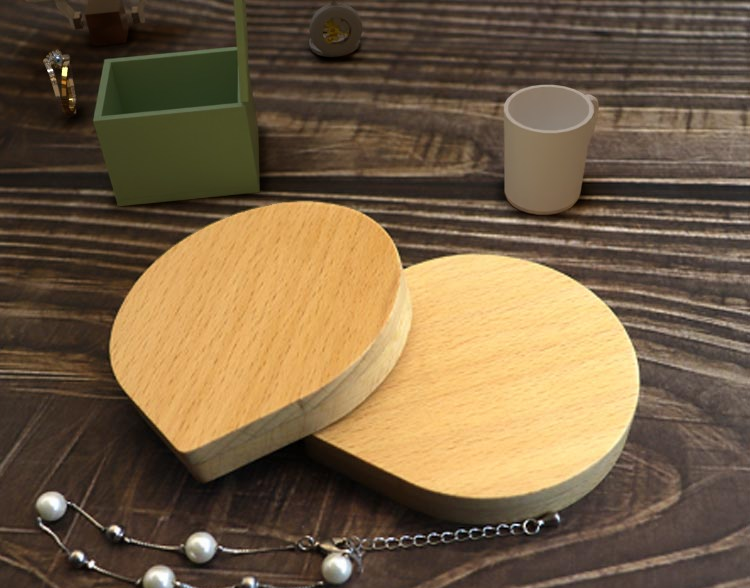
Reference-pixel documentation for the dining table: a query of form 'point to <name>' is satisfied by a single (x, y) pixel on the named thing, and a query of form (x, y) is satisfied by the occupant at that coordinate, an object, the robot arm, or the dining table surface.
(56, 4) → the robot arm
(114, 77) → the chest
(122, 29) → the block
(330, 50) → the pocket watch
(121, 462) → the dining table surface
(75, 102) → the ring
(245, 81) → the lid
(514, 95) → the mug
